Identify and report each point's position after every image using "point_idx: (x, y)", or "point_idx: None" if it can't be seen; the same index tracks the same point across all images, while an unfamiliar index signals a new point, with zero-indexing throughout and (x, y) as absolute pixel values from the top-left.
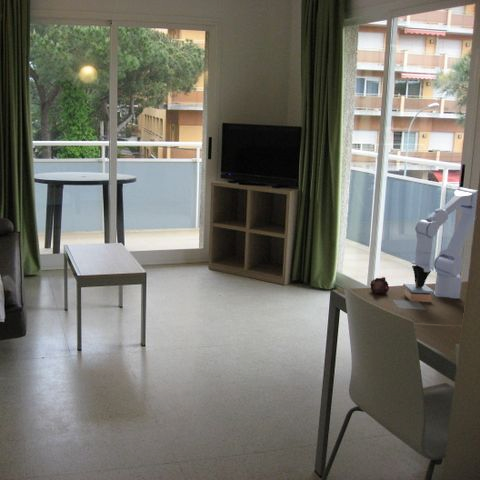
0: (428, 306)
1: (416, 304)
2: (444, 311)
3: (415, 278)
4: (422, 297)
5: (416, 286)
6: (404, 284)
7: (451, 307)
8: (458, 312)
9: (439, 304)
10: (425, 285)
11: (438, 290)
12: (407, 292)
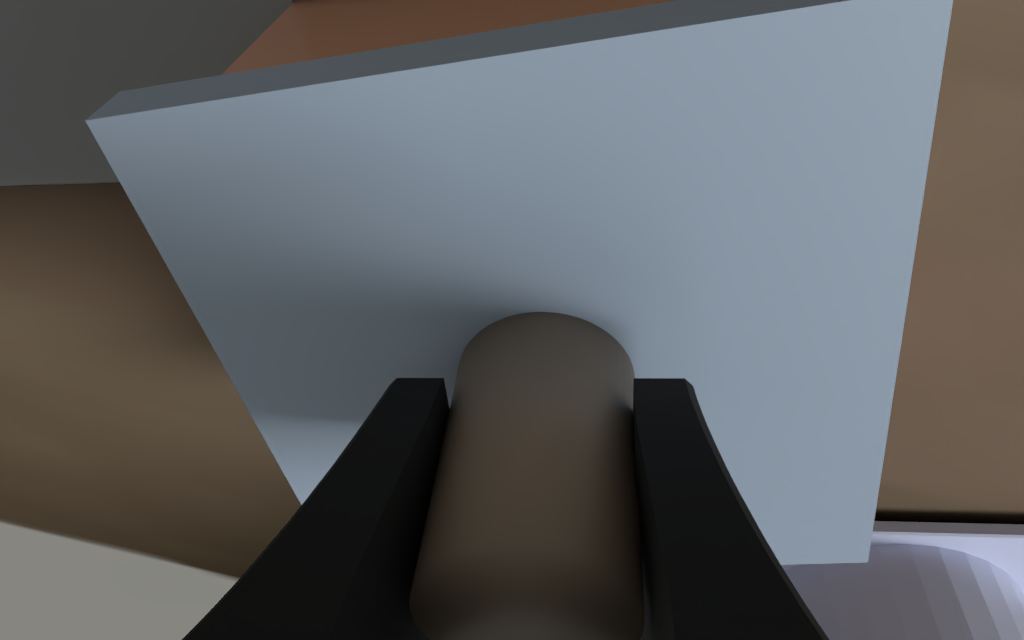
0: None
1: (80, 91)
2: (73, 433)
3: (657, 516)
4: None
5: (494, 344)
6: (838, 9)
7: None
8: (138, 553)
9: None
10: (777, 550)
11: (838, 626)
12: None
